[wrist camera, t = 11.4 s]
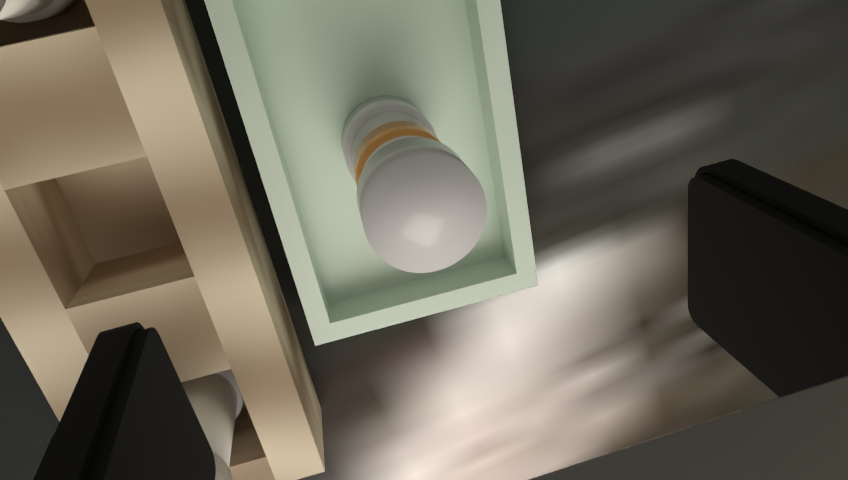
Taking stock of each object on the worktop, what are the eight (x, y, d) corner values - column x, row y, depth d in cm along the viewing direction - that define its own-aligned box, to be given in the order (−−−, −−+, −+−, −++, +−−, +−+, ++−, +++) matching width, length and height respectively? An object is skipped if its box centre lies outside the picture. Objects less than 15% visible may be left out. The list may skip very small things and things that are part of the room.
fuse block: (-163, -144, 18) (-276, -171, 15) (119, -196, 19) (78, -235, 15) (143, 457, 28) (120, 530, 24) (320, 407, 29) (325, 471, 25)
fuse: (149, 352, 26) (93, 505, 18) (231, 331, 26) (207, 473, 19) (178, 416, 27) (136, 580, 20) (255, 395, 27) (242, 550, 20)
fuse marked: (331, 106, 23) (349, 172, 16) (419, 86, 23) (476, 141, 16) (353, 190, 24) (378, 286, 17) (436, 170, 25) (495, 255, 17)
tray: (201, -37, 21) (192, -38, 19) (469, -94, 22) (487, -100, 20) (313, 317, 27) (315, 345, 25) (520, 262, 28) (538, 285, 26)
